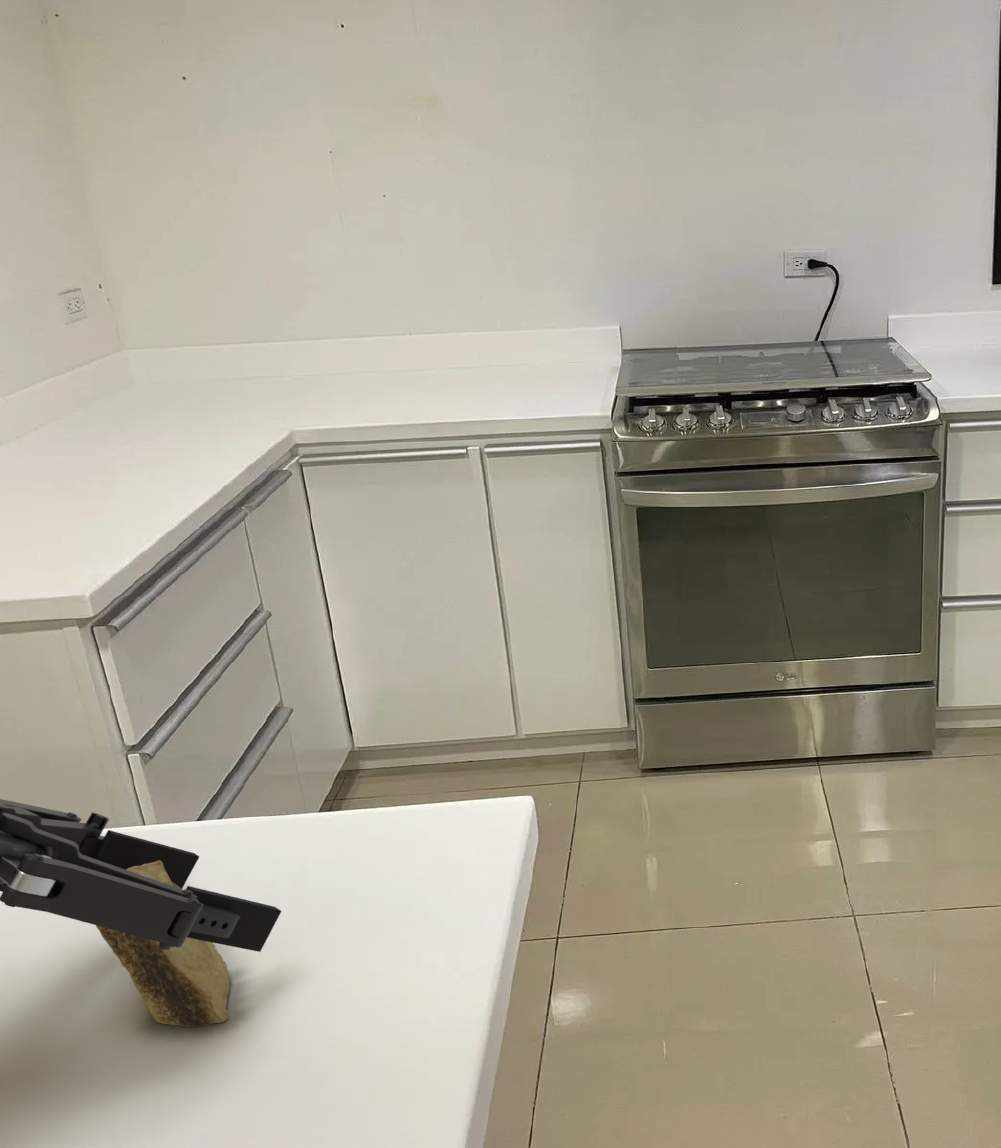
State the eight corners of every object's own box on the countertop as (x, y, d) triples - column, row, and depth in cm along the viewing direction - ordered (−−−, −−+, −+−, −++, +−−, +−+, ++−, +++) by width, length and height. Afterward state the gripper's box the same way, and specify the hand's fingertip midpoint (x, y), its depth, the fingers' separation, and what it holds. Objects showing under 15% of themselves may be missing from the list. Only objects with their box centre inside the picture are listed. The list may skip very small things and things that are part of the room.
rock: (130, 892, 78) (33, 982, 68) (183, 802, 76) (91, 882, 66) (267, 971, 79) (191, 1071, 69) (323, 885, 77) (253, 975, 67)
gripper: (-247, 814, 63) (118, 894, 80) (-110, 971, 50) (289, 1026, 67) (-167, 691, 64) (173, 796, 82) (-15, 812, 52) (350, 906, 69)
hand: (225, 900), depth 74 cm, fingers open, 10 cm apart
